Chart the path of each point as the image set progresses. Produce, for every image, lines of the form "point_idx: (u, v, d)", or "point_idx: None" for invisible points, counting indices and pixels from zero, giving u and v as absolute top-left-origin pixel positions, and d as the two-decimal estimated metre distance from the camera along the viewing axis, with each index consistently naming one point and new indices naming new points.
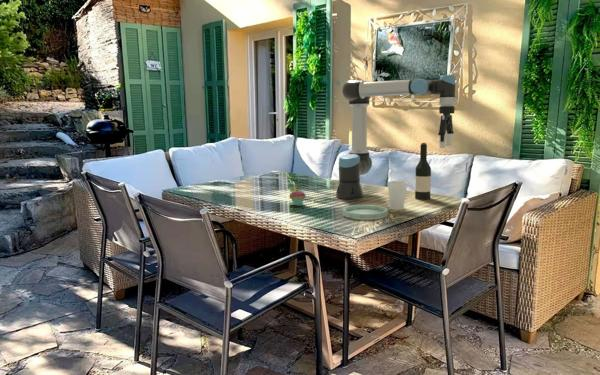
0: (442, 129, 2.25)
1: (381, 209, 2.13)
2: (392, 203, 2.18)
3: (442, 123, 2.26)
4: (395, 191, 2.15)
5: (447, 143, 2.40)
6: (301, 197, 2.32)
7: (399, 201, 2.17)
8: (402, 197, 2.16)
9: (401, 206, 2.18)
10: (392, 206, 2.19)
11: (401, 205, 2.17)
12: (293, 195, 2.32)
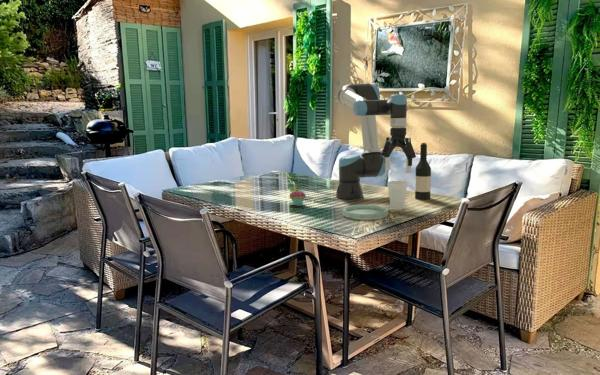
0: None
1: (381, 209, 2.13)
2: (392, 203, 2.18)
3: None
4: (395, 191, 2.15)
5: None
6: (301, 197, 2.32)
7: (399, 201, 2.17)
8: (402, 197, 2.16)
9: (401, 206, 2.18)
10: (392, 206, 2.19)
11: (401, 205, 2.17)
12: (293, 195, 2.32)
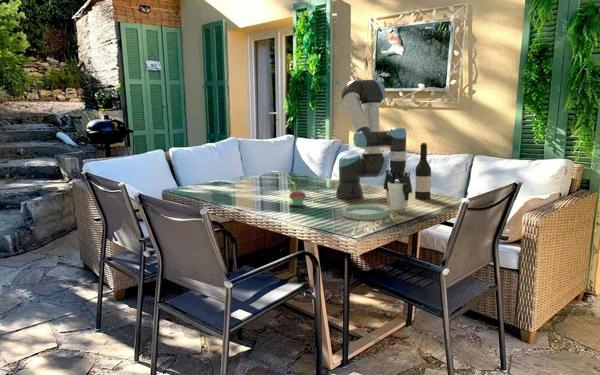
0: None
1: (381, 209, 2.13)
2: (392, 203, 2.18)
3: None
4: (395, 191, 2.15)
5: None
6: (301, 197, 2.32)
7: (399, 201, 2.17)
8: (402, 197, 2.16)
9: (401, 206, 2.18)
10: (392, 206, 2.19)
11: (401, 205, 2.17)
12: (293, 195, 2.32)
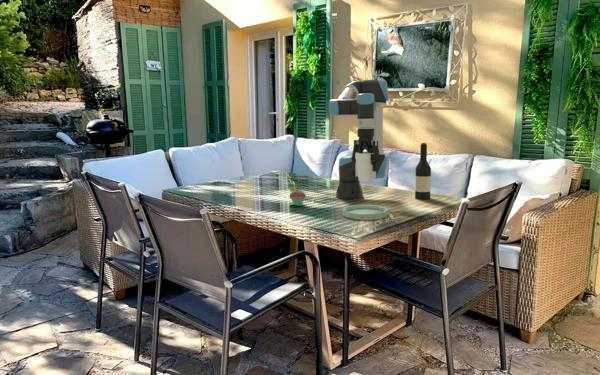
0: None
1: (381, 209, 2.13)
2: (360, 175, 2.04)
3: None
4: (363, 161, 2.01)
5: None
6: (301, 197, 2.32)
7: (367, 172, 2.02)
8: (370, 168, 2.02)
9: (369, 178, 2.04)
10: (360, 178, 2.05)
11: (369, 177, 2.03)
12: (293, 195, 2.32)
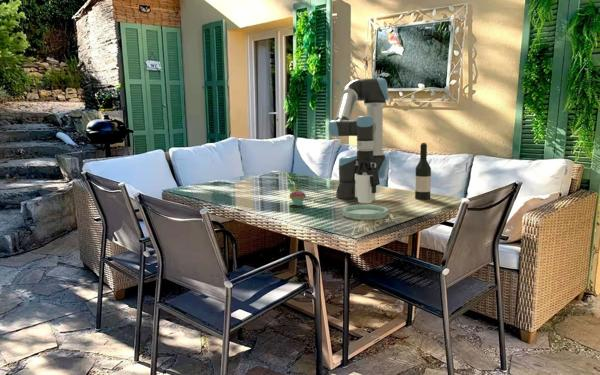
0: None
1: (381, 209, 2.13)
2: (359, 196, 2.06)
3: None
4: (362, 183, 2.03)
5: None
6: (301, 197, 2.32)
7: (366, 194, 2.04)
8: (369, 189, 2.04)
9: (369, 199, 2.05)
10: (359, 199, 2.06)
11: (369, 198, 2.05)
12: (293, 195, 2.32)
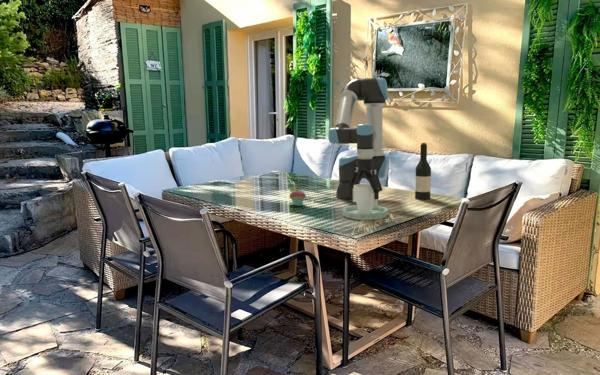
0: None
1: (381, 209, 2.13)
2: (359, 207, 2.07)
3: None
4: (361, 194, 2.04)
5: None
6: (301, 197, 2.32)
7: (366, 205, 2.05)
8: (369, 201, 2.05)
9: (368, 210, 2.06)
10: (359, 210, 2.07)
11: (368, 209, 2.06)
12: (293, 195, 2.32)
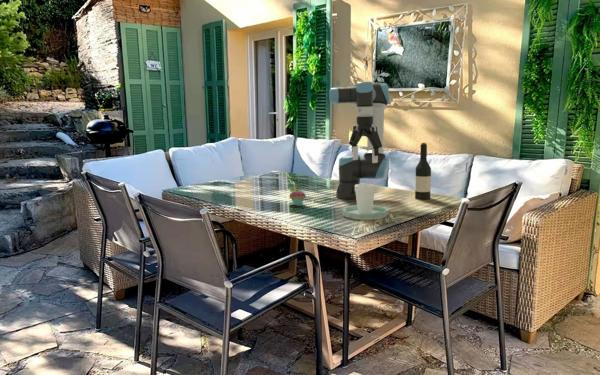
0: None
1: (381, 209, 2.13)
2: (359, 207, 2.07)
3: None
4: (362, 194, 2.04)
5: None
6: (301, 197, 2.32)
7: (366, 205, 2.05)
8: (369, 201, 2.05)
9: (369, 210, 2.06)
10: (359, 210, 2.07)
11: (369, 209, 2.06)
12: (293, 195, 2.32)
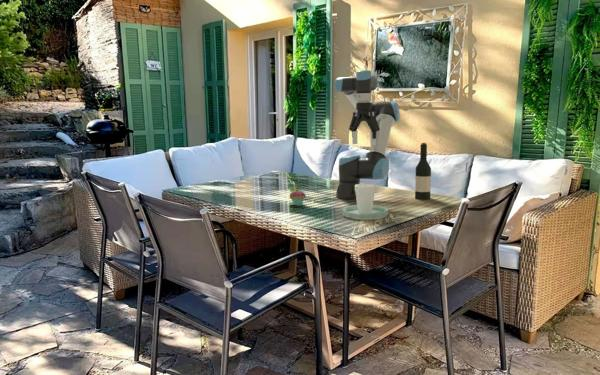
0: None
1: (381, 209, 2.13)
2: (359, 207, 2.07)
3: None
4: (362, 194, 2.04)
5: None
6: (301, 197, 2.32)
7: (366, 205, 2.05)
8: (369, 201, 2.05)
9: (369, 210, 2.06)
10: (359, 210, 2.07)
11: (369, 209, 2.06)
12: (293, 195, 2.32)
